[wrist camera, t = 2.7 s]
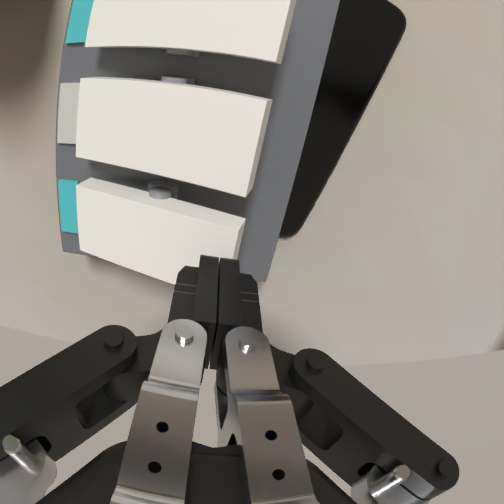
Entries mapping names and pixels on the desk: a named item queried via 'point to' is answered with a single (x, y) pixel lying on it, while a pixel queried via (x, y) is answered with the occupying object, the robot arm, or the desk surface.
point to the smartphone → (342, 96)
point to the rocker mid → (173, 130)
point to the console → (214, 76)
